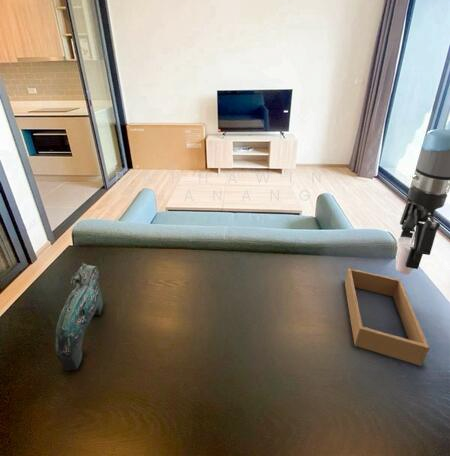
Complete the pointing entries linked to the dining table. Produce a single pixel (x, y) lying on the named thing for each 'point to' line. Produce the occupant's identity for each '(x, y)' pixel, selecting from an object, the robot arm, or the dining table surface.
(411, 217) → the robot arm
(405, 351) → the wooden box
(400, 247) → the smoothie
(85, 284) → the dark teal curved piece
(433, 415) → the dining table surface
